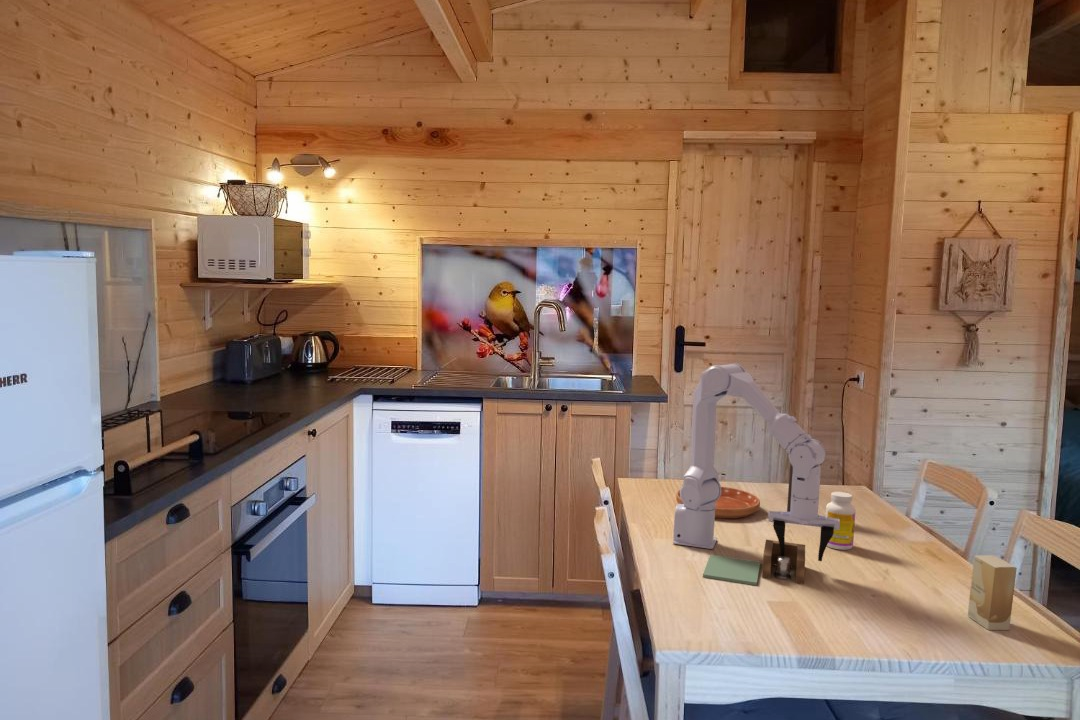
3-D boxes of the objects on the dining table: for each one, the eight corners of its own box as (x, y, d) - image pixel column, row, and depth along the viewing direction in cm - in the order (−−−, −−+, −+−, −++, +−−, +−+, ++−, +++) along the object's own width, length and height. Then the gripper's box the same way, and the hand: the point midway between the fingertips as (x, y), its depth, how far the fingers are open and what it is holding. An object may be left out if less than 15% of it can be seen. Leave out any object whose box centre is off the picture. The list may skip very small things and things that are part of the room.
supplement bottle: (855, 552, 177) (859, 499, 176) (826, 549, 179) (829, 496, 178) (849, 542, 184) (853, 491, 183) (821, 540, 185) (824, 489, 184)
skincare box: (966, 616, 143) (971, 554, 142) (987, 615, 144) (993, 554, 142) (989, 631, 137) (995, 566, 136) (1011, 631, 137) (1017, 566, 136)
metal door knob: (774, 578, 159) (775, 559, 159) (774, 572, 163) (776, 554, 162) (791, 580, 158) (792, 562, 158) (791, 574, 162) (792, 557, 161)
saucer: (759, 525, 196) (760, 511, 196) (671, 515, 203) (672, 502, 202) (759, 502, 218) (760, 490, 218) (680, 494, 225) (680, 482, 224)
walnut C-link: (761, 577, 160) (763, 554, 159) (764, 560, 170) (765, 539, 169) (803, 584, 157) (805, 560, 156) (803, 566, 167) (805, 544, 166)
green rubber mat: (702, 577, 159) (702, 574, 159) (710, 557, 171) (710, 554, 171) (756, 585, 155) (756, 582, 155) (760, 564, 167) (760, 561, 167)
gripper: (769, 496, 161) (765, 558, 162) (841, 505, 156) (837, 568, 157) (770, 489, 167) (767, 548, 168) (840, 496, 162) (836, 557, 164)
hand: (801, 557), depth 163 cm, fingers open, 7 cm apart
